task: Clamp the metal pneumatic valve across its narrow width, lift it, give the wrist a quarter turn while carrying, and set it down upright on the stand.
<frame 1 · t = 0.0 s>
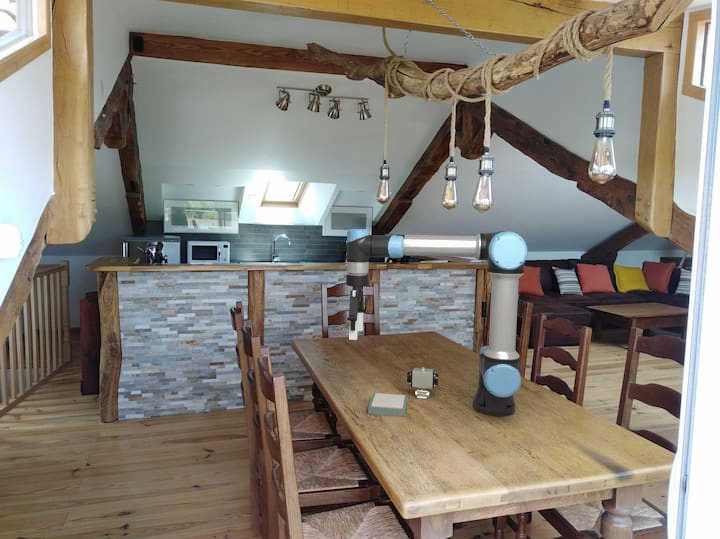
hand: (356, 335, 179), 28 cm above the table, fingers open, 13 cm apart
pneumatic valve: (422, 397, 199), on the table
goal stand: (388, 407, 187), on the table
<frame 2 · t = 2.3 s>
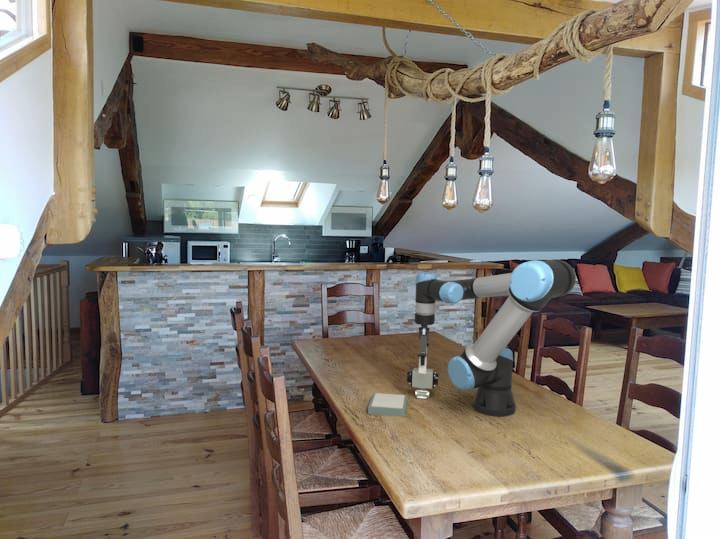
hand: (422, 367, 198), 12 cm above the table, fingers open, 13 cm apart
nothing on the table moved.
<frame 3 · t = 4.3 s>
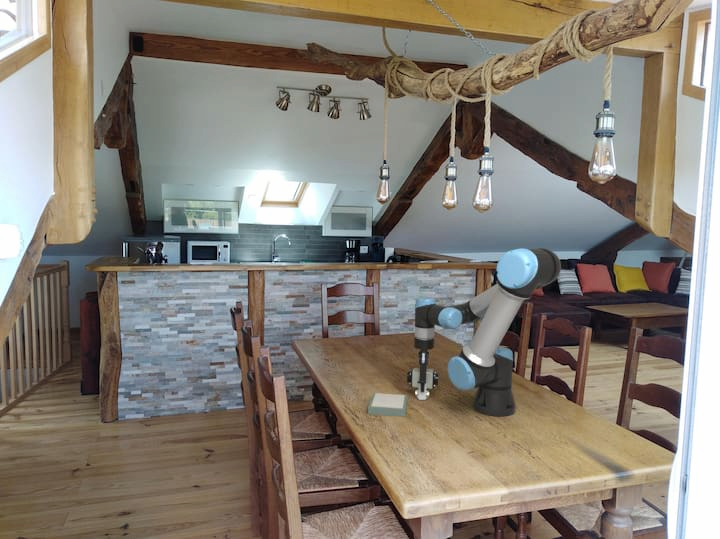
hand: (422, 396, 199), 0 cm above the table, fingers closed on pneumatic valve, 5 cm apart
pneumatic valve: (422, 397, 199), on the table, touching gripper
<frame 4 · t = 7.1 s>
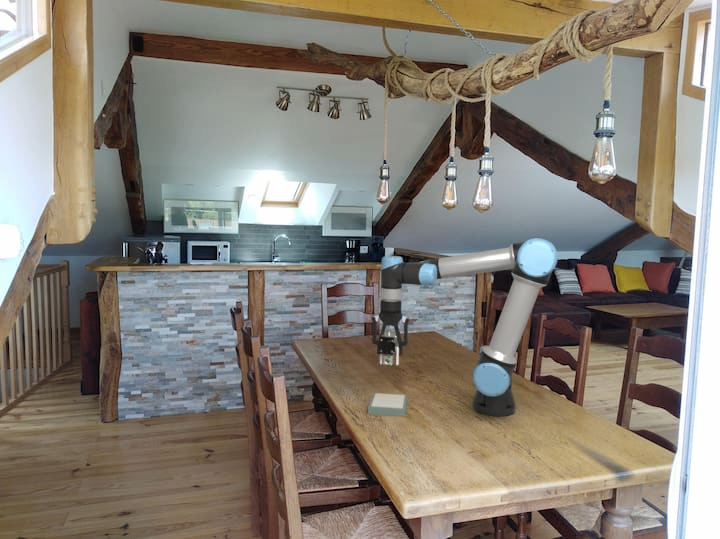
hand: (389, 363, 186), 16 cm above the table, fingers closed on pneumatic valve, 5 cm apart
pneumatic valve: (389, 364, 186), point 16 cm above the table, touching gripper
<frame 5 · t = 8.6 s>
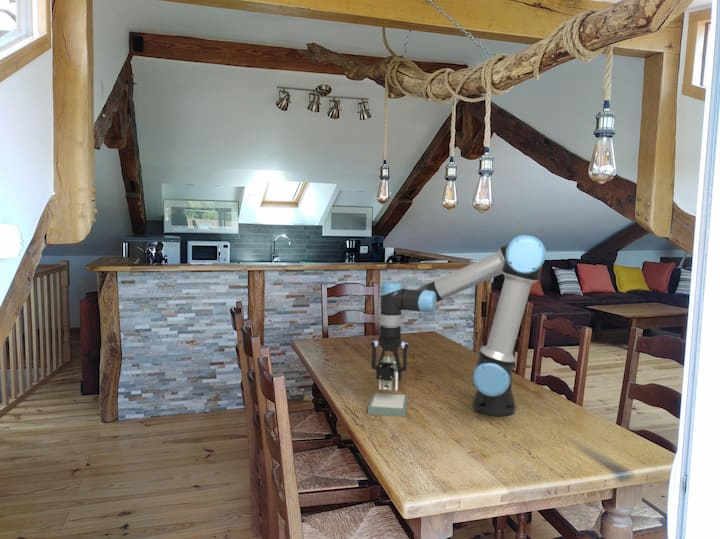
hand: (388, 388, 187), 7 cm above the table, fingers closed on pneumatic valve, 5 cm apart
pneumatic valve: (388, 389, 187), point 7 cm above the table, touching gripper
when the fingers open (4 cm above the table, at t = 9.9 s): pneumatic valve drops 1 cm, resting on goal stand.
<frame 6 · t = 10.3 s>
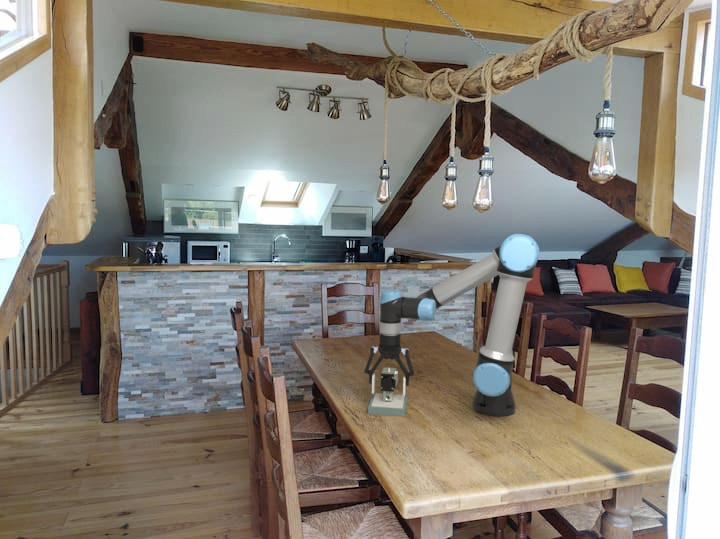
hand: (388, 393, 187), 5 cm above the table, fingers open, 10 cm apart
pneumatic valve: (389, 400, 187), point 3 cm above the table, touching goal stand
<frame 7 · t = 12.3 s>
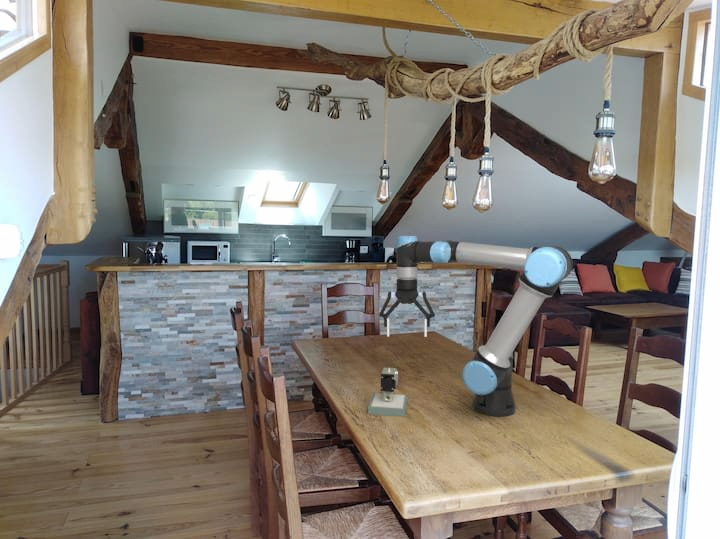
hand: (406, 335, 189), 26 cm above the table, fingers open, 13 cm apart
nothing on the table moved.
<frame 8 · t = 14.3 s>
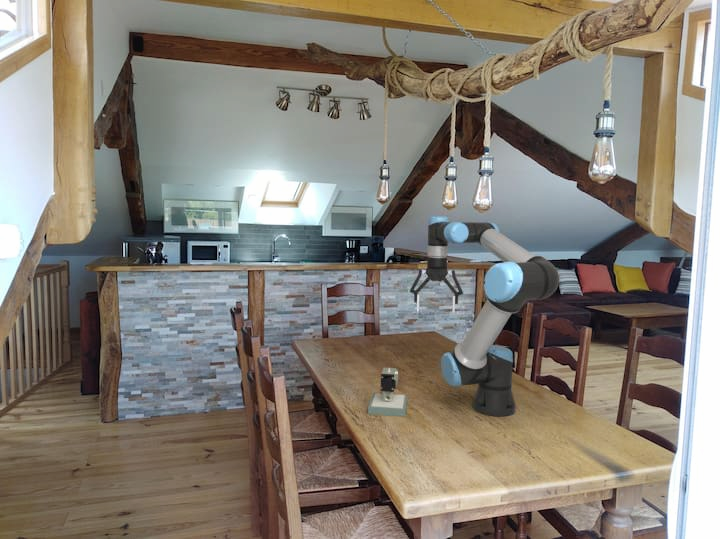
hand: (435, 311, 200), 33 cm above the table, fingers open, 13 cm apart
nothing on the table moved.
at the end: pneumatic valve 0.3 cm from the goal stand (horizontally); pneumatic valve touching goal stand; pneumatic valve tilted 0° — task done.
